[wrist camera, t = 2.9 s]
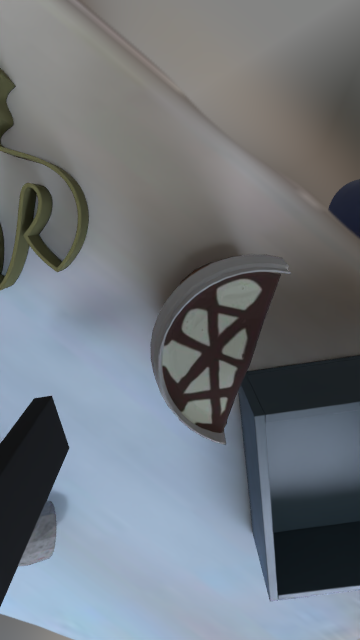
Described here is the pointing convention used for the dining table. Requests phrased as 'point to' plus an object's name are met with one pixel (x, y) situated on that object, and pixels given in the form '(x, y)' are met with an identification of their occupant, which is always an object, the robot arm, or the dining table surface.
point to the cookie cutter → (26, 225)
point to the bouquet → (41, 537)
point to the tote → (304, 475)
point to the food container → (212, 338)
